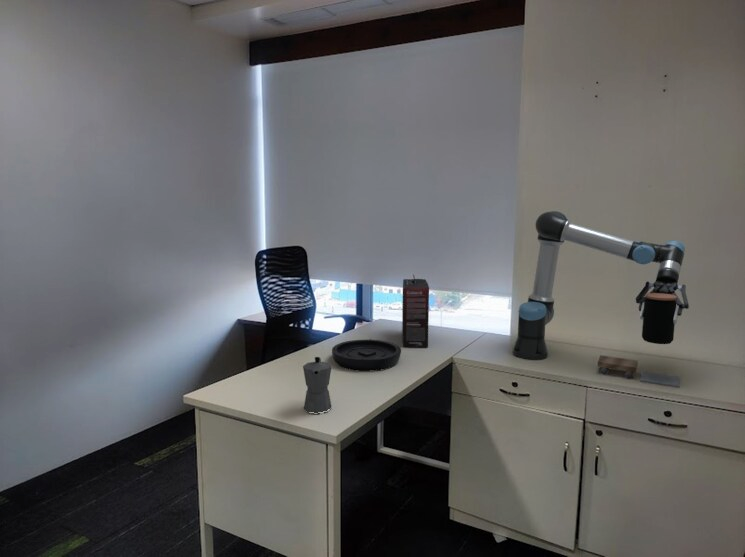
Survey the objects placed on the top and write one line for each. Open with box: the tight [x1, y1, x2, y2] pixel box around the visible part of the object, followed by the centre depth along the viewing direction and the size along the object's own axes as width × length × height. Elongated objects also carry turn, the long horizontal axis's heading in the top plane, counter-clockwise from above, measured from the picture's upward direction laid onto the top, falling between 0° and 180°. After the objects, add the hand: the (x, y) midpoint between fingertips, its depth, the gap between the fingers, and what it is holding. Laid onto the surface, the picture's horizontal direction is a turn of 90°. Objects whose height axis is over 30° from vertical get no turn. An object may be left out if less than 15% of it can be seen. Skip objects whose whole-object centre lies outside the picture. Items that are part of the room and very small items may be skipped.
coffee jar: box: [641, 292, 678, 345], centre depth 190 cm, size 11×11×18 cm
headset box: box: [401, 274, 430, 348], centre depth 243 cm, size 25×12×33 cm, turn 178°
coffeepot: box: [302, 356, 333, 413], centre depth 164 cm, size 15×9×18 cm, turn 3°
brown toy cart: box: [597, 354, 638, 380], centre depth 200 cm, size 14×10×5 cm
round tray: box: [331, 339, 402, 372], centre depth 214 cm, size 30×6×30 cm
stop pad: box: [639, 370, 680, 389], centre depth 193 cm, size 13×12×1 cm
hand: (657, 319), depth 188 cm, fingers closed on coffee jar, 11 cm apart
